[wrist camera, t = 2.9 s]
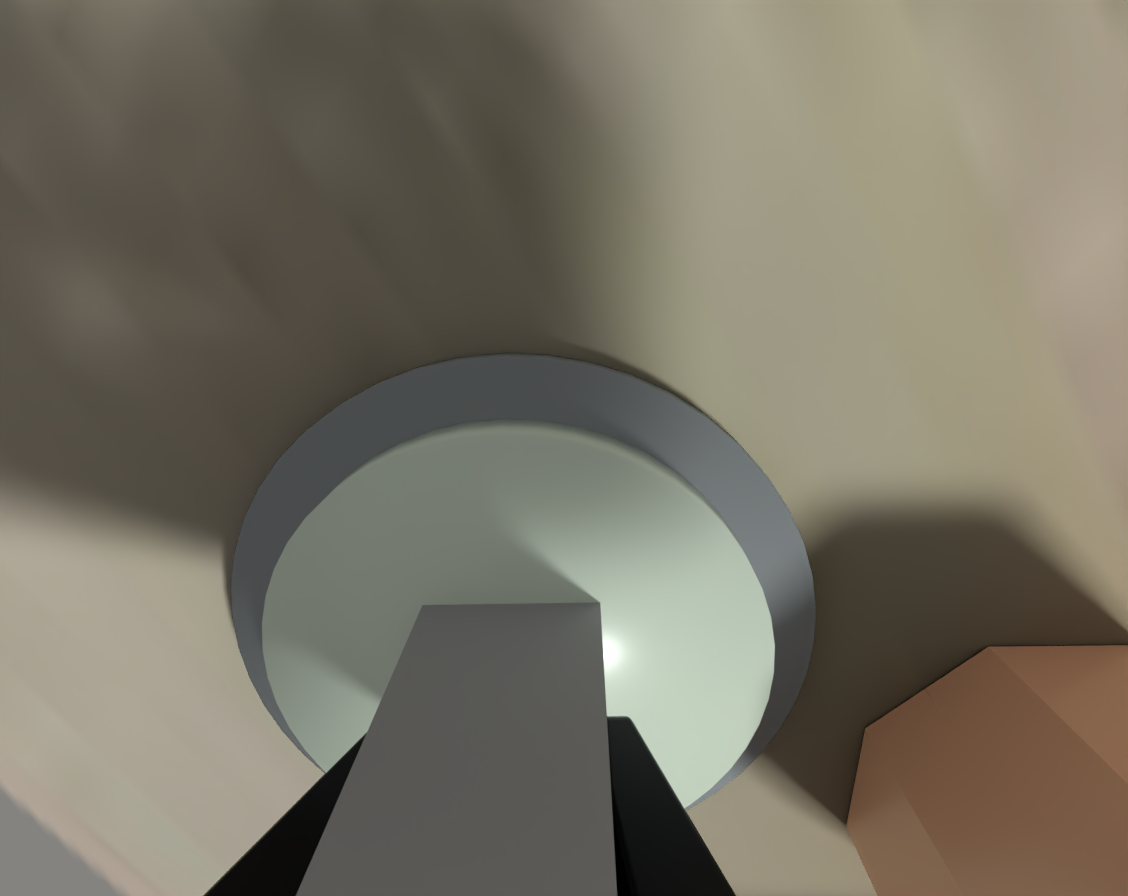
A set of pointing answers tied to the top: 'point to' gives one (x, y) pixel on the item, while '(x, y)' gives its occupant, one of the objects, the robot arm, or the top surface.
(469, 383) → the mat
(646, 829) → the robot arm
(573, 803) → the lid
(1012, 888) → the cup
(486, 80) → the top surface
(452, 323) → the top surface
